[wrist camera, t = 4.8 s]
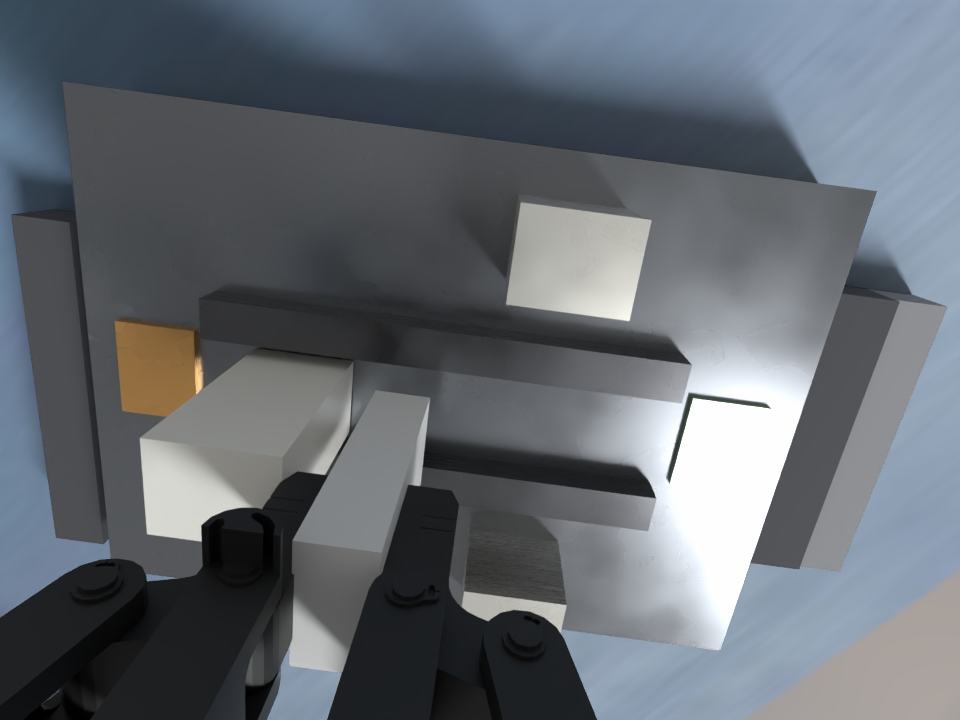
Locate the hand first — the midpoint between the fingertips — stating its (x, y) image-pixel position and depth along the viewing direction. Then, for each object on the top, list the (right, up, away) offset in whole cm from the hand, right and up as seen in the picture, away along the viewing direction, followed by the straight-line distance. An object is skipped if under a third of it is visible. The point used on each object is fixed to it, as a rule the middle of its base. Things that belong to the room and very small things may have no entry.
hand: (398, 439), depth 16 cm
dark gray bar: (-12, +2, +6) cm, 13 cm away
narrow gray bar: (+14, 0, +5) cm, 15 cm away
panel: (+1, +2, +5) cm, 5 cm away
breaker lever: (-3, +1, +2) cm, 4 cm away
